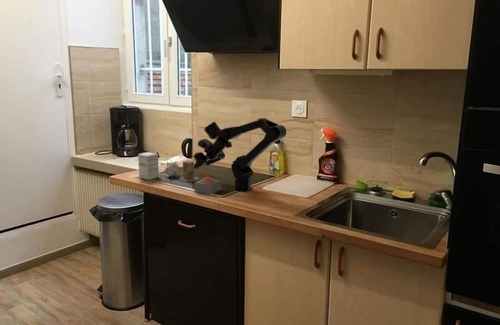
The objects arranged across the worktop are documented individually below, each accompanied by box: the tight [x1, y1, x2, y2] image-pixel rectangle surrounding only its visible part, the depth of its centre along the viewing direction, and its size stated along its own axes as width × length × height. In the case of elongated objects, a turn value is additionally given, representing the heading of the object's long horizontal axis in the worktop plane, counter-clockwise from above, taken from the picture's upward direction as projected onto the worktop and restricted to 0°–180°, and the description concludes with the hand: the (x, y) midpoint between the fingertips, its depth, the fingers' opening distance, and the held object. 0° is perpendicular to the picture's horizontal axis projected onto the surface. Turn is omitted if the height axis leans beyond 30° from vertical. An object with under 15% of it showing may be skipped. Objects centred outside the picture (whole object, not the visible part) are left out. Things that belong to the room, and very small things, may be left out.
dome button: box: [203, 175, 213, 183], centre depth 191 cm, size 4×4×6 cm
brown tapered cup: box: [182, 160, 195, 180], centre depth 211 cm, size 4×4×9 cm
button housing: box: [193, 178, 222, 195], centre depth 191 cm, size 9×9×4 cm
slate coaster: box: [178, 176, 200, 183], centre depth 212 cm, size 10×10×1 cm
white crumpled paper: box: [163, 161, 183, 178], centre depth 217 cm, size 9×8×10 cm
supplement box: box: [137, 151, 160, 181], centre depth 214 cm, size 7×7×13 cm
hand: (200, 166), depth 206 cm, fingers open, 9 cm apart
